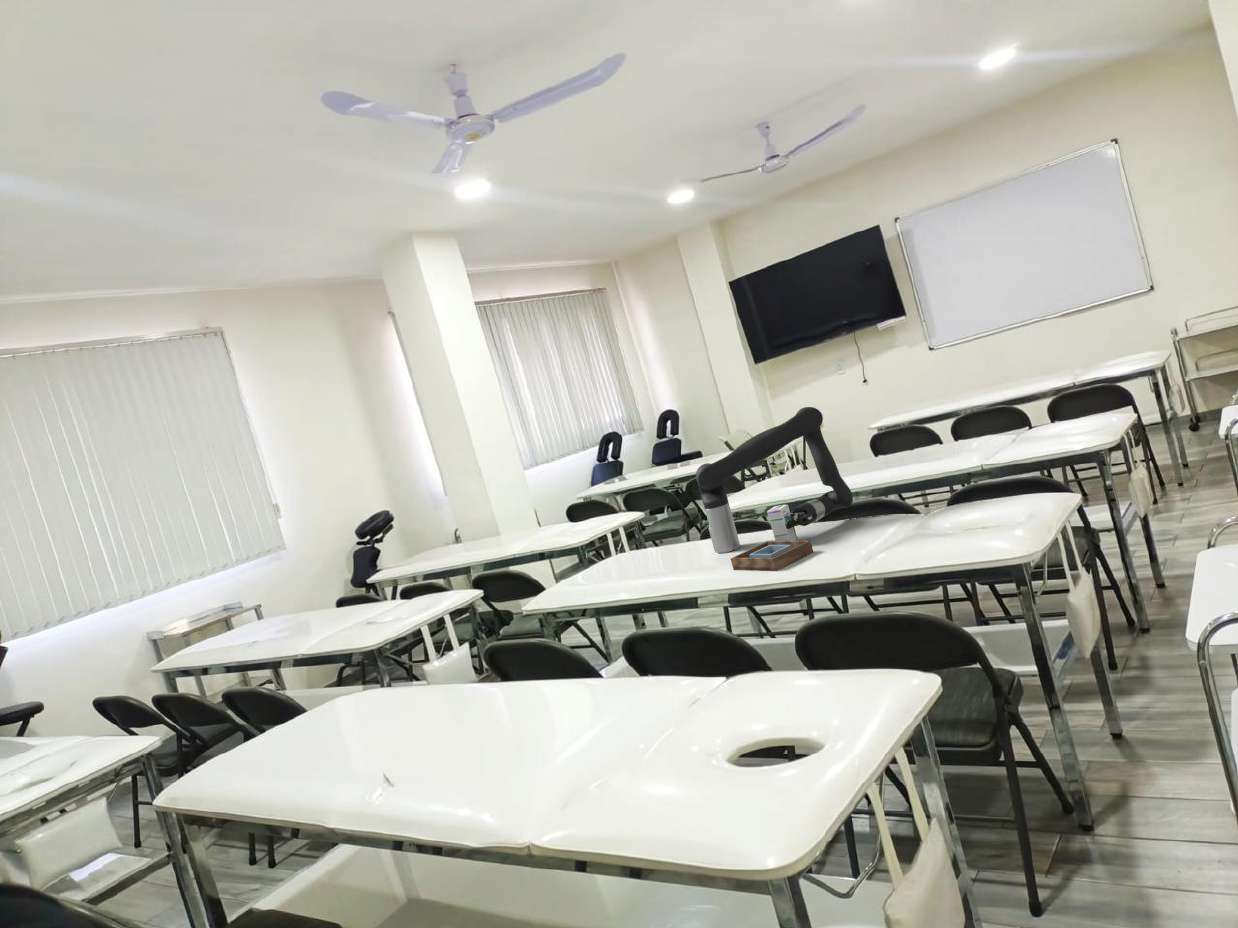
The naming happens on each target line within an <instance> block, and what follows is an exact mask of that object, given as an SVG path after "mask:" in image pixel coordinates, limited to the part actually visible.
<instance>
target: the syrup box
mask: <svg viewBox="0 0 1238 928" xmlns="http://www.w3.org/2000/svg"><path fill="white" fill-rule="evenodd" d="M790 513H791V512H790V508H789V504H779V505H778V504H777V505H774V506H773V507H772V508H770V509H769V510H767V511H766V514H767V516H768V520H769V524H771V527H772V529H771V531H772V534H773V537H774V541H799V539H798V536H797V532H796V528H795V526H794V527H792V528H790V529H786V525H785V523H787V522H789V521H791V520H792V517H791V514H790Z"/></svg>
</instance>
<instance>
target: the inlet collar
mask: <svg viewBox="0 0 1238 928" xmlns="http://www.w3.org/2000/svg"><path fill="white" fill-rule="evenodd" d="M791 549H792V546H791V545H768V546H766V547H764V548H762V549H760V550H758V551H756V552H754V553H752V554H749V556H750V558H774V557H776V556H778V555H780V554H782V553H785V552H787V551H789V550H791Z"/></svg>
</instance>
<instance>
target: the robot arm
mask: <svg viewBox="0 0 1238 928" xmlns="http://www.w3.org/2000/svg"><path fill="white" fill-rule="evenodd" d="M823 422H824V417H823V414H822V412H821V411H820V410H819V409H818V408H816V407H814V406H805V407H802V408H800V409H799V410H797V412H796V414H795V415H794V416H792V417H791V418H789V419H787V420H786V421H785V422H783V423H781V424H779V425H776V426H774V427H772V428H768V429H766V430H764V431H762V432H759V433H758V434H756V435H754V436H753V437H751V438H749V439H747V440H745V441H744V442H742V443H741V444H740V445H739V446H737V447H736V448H734V450H732V451H731V453H729V454H728V455H726V456H724V457H723V458H720V459H718V460H717V461H715V462H712V463H710V462H709V463H703V464H701V465H700V466H699V467H698V468H697V469H696V473H695V479H696V483H697V487H698V490H699V493H700V498H701V501H702V504H703V508H704V511H705V515H706V517H707V519H706V520H707V523H708V524H709V526H708V532H709V536H710V539H711V543H712V547H713V550H714V553H717V554H725V553H729V552H733V551H735V550H737V549H740V548H741V544H740V539H739V536H738V531H737V529H736V528H737V527H736V525H735V520H734V518H733V517H734V516H733V513H732V510H731V506H730V503H729V499H728V495H727V492H726V489H725V486H724V483H725V481H727V480H728V479H729V478H731V477H733V476H734V475H736V474H738V473H740V472H742V471H743V470H746V469H748V468H750V467H753V466H754V465H757V464H758V463H760V462H762V461H764V460H766V459H767V458H770V457H771V456H773V455H774V454H776V453H777V452H779V451H780V450H782V449H783V448H785V447H786V446H788V444H791V442H793V441H795V440H797V439H799V438H801V437H803V438H804V440H805V442H806V445H807V447H808V449H809V451H810V454H811V457H812V459H813V462H814V465H815V467H816V470H817V474H818V476H819V478H820V481H821V484H822V485H823V486H826V487H831V488H832V490H829V491H827V492H825V493H823V494H822V495H821V496H819V497H817V498H815V499H811V500H809V501H806V502H803V503H801V504H799V505H796V506H795V507H794V508H793V511H792V512H790V514H791V517H792V520H791V521H789V522H787V523H785V525H786V529H790V528H792V527H794V528H795V527H799V526H802V527H807V526H808V525H811V524H813V523H815V522H817V521H819V520H820V519H822V518H823V517H826V516H829V515H830V514H831V513H832V512H833V511H834V510H837V509H838V510H839V509H845V508H849V507H851V505H852V504H853V501H854V496H853V492H852V491H851V489H850V487H849V486H848V484H847V483H846V482H845V480H844V479H843V478H842V476H841V474H840V472H839V468H838V465H837V464H836V461H835V459H834V457H833V455H832V453H831V451H830V449H829V447H828V446H827V444H826V441H825V439H824V436H823V433H822V429H821V426H822V424H823ZM768 526H769V530H772V527H771V524H770V523H769V524H768Z"/></svg>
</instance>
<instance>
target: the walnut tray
mask: <svg viewBox="0 0 1238 928" xmlns="http://www.w3.org/2000/svg"><path fill="white" fill-rule="evenodd" d="M768 545H791V546H792V549H791V550H789V551H787V552H785V553H782V554H780V555H778V556H776V557H774V558H750V556H749V554H752V553H754V552H756V551H758V550H760V549H762V548H764V547H766V546H768ZM813 553H814V549H813V546H812V541H811V540H798V541H775V540H774V541H773V540H770V541H768V540H767V541H766V542H763V543H761V544H759V545H756V546H754V547H752V548H750V549H747V550H746V551H743V552H741V553H739V554H738V555H735V556H733V557H730V562H731V565H732V570H733V571H756V572H758V571H759V572H760V571H762V572H764V571H765V572H777V571H779V570H782V569H783V568H785V567H787V566H789V565H791V564H793V563H796V562H797V561H799V560H801V559H803V558H806V557H807V556H809V555H811V554H813Z"/></svg>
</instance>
